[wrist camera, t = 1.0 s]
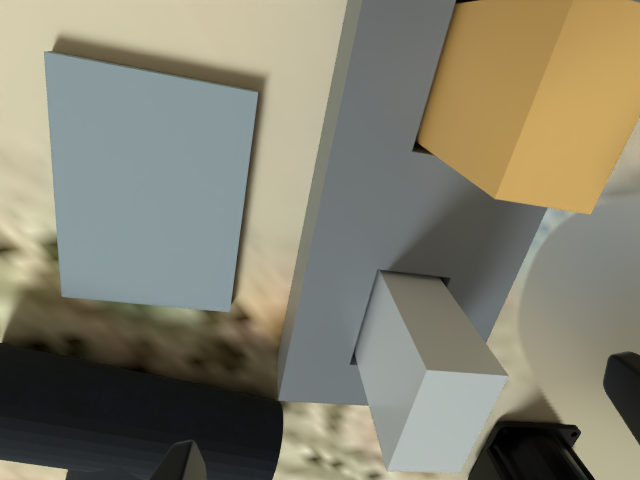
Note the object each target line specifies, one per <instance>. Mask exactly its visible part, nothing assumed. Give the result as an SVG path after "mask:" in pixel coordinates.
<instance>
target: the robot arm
mask: <svg viewBox="0 0 640 480" xmlns="http://www.w3.org/2000/svg"><path fill="white" fill-rule="evenodd" d="M603 386H604V389H605V392H606V394H607V395H608V397H609V398H610V400H611V401H612V403H613V405H614V406H615V408H616V409H617V411H618V412H619V414H620V415H621V416H622V418H623V420H624V422H625V423H626V425H627V426H628V428H629V429H630V431H631V432H632V434H633V436H634V437H635V439H636V440H637V441H638V443H639V445H640V355H638V354H636V353H633V352H622V353H617V354H613V355H611V356H610V357H609V358H608V361H607V366H606V370H605V375H604V380H603ZM580 434H581V431H580V430H579V429H578V427H577V426H576V425H565V424H545V423H525V422H500V423H498V424H497V425H496V426H495V427H494V429H493V431H492V433H491V435H490V437H489V439H488V441H487V443H486V445H485V447H484V449H483V451H482V452H481V454H480V456H479V458H478V460H477V462H476V464H475V466H474V468H473V470H472V472H471V474H470V476H469V477H468V480H595V479H594V477H593V476H592V475H591V473H590V472H589V471H588V469H587V468H586V467H585V465H584V464H583V462H582V461H581V460H580V458H579V457H578V456H577V454H576V453H575V452H574V450H573V449H572V447H573V445H574V443H575V442H576V440H577V439H578V437H579V436H580ZM149 480H206V467H205V463H204V461H203V458H202V456H201V454H200V451H199V449H198V447H197V444H196V443H195V441H193V440H187V441H182V442H177V443H175V444H174V445H172V446H171V448H170V449H169V451H168V452H167V454H166V455H165V457H164V458H163V460H162V461H161V463H160V464H159V466H158V467H157V469H156V470H155V472H154V473H153V475H152V476H151V478H150V479H149Z"/></svg>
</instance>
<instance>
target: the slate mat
mask: <svg viewBox="0 0 640 480" xmlns="http://www.w3.org/2000/svg"><path fill="white" fill-rule="evenodd" d="M44 59H45V73H46V87H47V101H48V115H49V129H50V143H51V157H52V170H53V184H54V198H55V212H56V226H57V240H58V254H59V268H60V282H61V296H62V297H69V298H80V299H91V300H102V301H113V302H124V303H134V304H145V305H156V306H167V307H178V308H189V309H200V310H211V311H222V312H230V307H231V299H232V291H233V284H234V276H235V268H236V261H237V253H238V245H239V237H240V230H241V222H242V214H243V206H244V199H245V191H246V183H247V176H248V168H249V160H250V152H251V145H252V137H253V129H254V122H255V114H256V106H257V98H258V91H256V90H251V89H246V88H241V87H235V86H230V85H225V84H220V83H215V82H209V81H204V80H199V79H194V78H189V77H183V76H178V75H173V74H168V73H162V72H157V71H152V70H147V69H142V68H136V67H131V66H126V65H121V64H116V63H110V62H105V61H100V60H95V59H89V58H84V57H79V56H74V55H69V54H63V53H58V52H53V51H48V52H44Z"/></svg>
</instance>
